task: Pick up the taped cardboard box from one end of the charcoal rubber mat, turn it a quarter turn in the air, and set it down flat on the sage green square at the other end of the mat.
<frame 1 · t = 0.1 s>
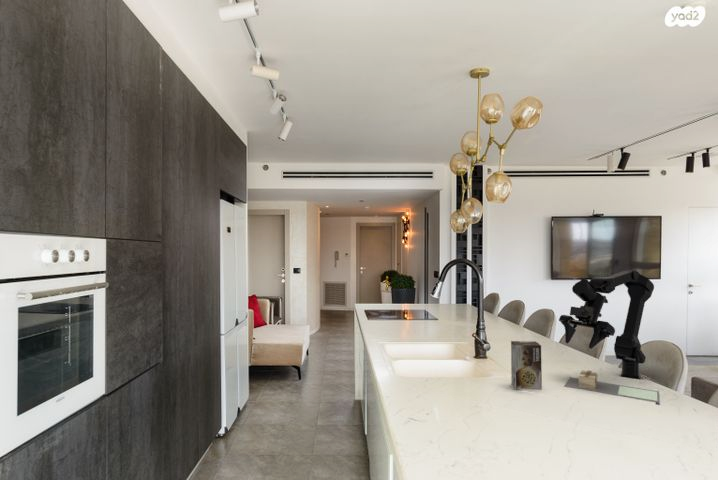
hand: (577, 345, 154), 15 cm above the counter, tool tilted 30°, fingers open, 9 cm apart
mat: (610, 390, 150), on the counter
taped cardboard box: (588, 385, 154), point 1 cm above the counter, touching mat
coffee box: (526, 388, 152), on the counter
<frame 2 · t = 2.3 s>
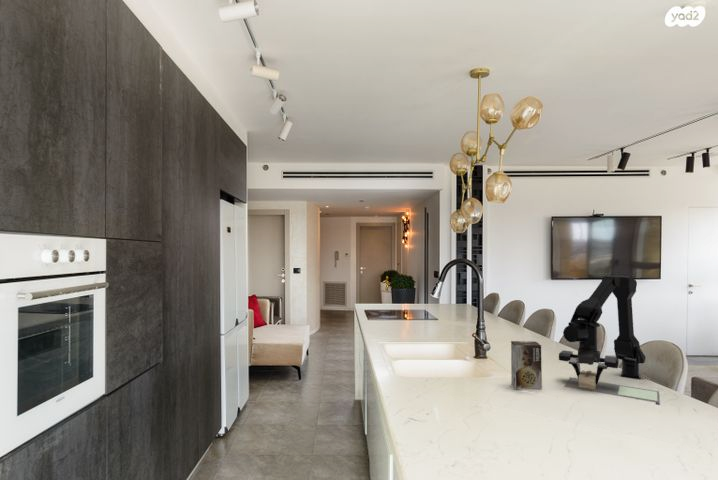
hand: (588, 382, 154), 1 cm above the counter, tool pointing down, fingers closed on taped cardboard box, 5 cm apart
taped cardboard box: (588, 385, 154), point 1 cm above the counter, touching gripper, mat
everything else where it was.
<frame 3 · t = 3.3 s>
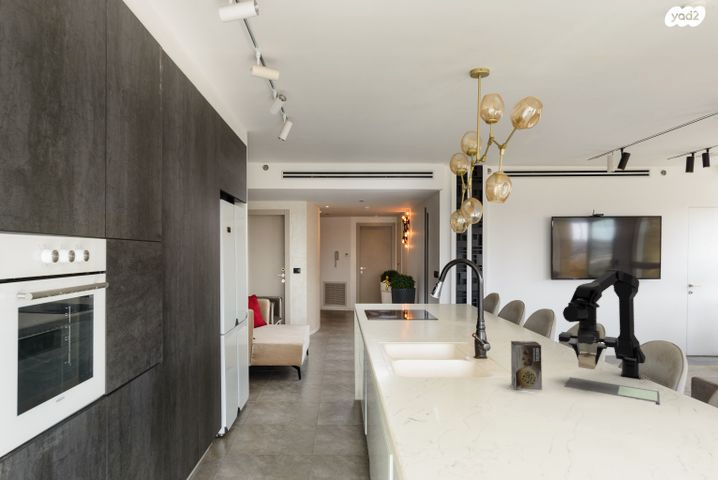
hand: (587, 363, 154), 8 cm above the counter, tool pointing down, fingers closed on taped cardboard box, 5 cm apart
taped cardboard box: (587, 365, 154), point 8 cm above the counter, touching gripper
everything else where it was.
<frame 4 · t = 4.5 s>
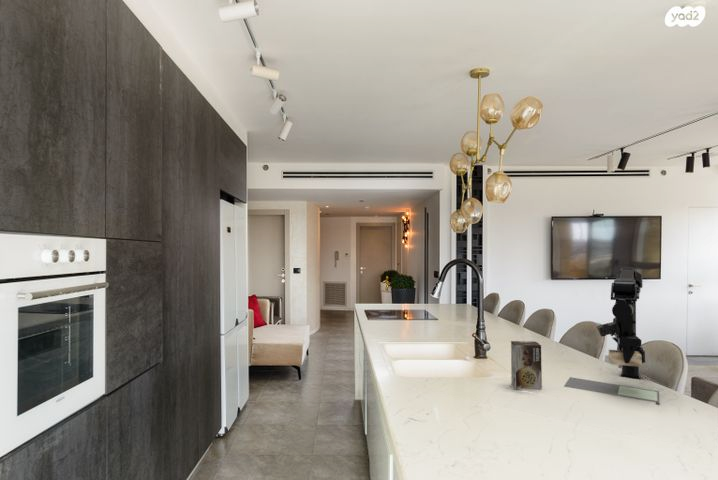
hand: (625, 361, 147), 11 cm above the counter, tool pointing down, fingers closed on taped cardboard box, 5 cm apart
taped cardboard box: (624, 363, 147), point 10 cm above the counter, touching gripper
everything else where it was.
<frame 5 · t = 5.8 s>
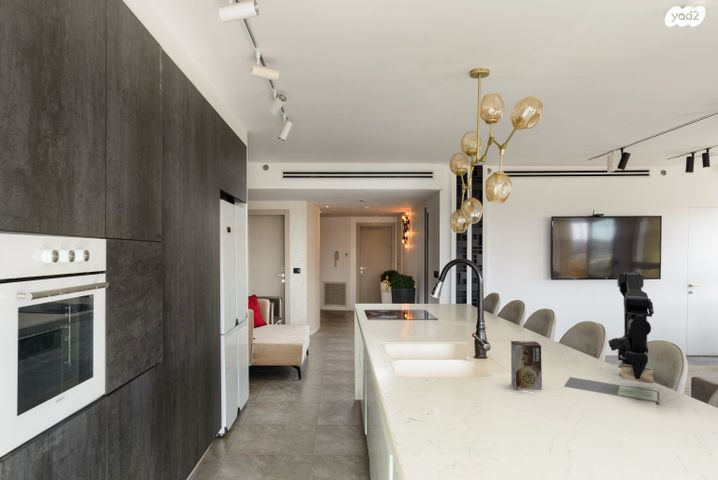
hand: (637, 377, 145), 6 cm above the counter, tool pointing down, fingers closed on taped cardboard box, 5 cm apart
taped cardboard box: (637, 379, 145), point 5 cm above the counter, touching gripper
everything else where it was.
when the fingers open (2 cm above the counter, at t = 6.9 s): taped cardboard box stays where it is, resting on mat.
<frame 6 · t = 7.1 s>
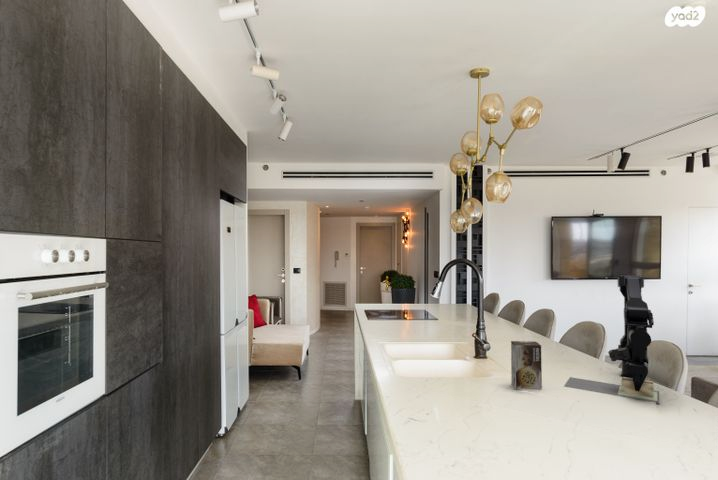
hand: (637, 388, 145), 2 cm above the counter, tool pointing down, fingers open, 7 cm apart
taped cardboard box: (637, 392, 145), point 1 cm above the counter, touching mat
everything else where it was.
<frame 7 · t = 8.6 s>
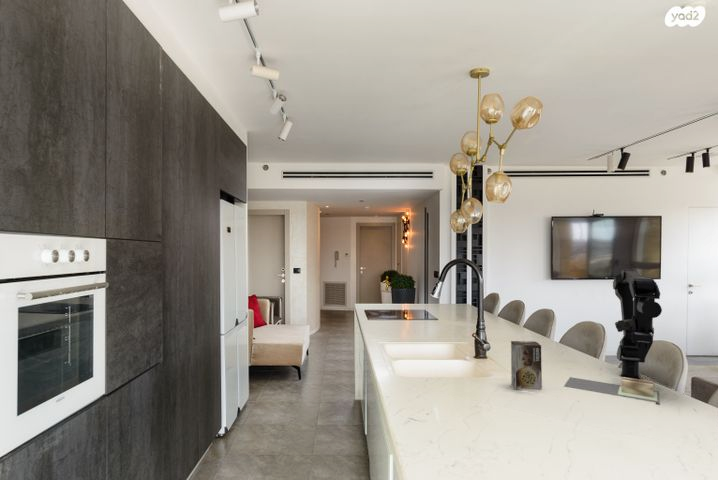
hand: (642, 356, 151), 12 cm above the counter, tool pointing down, fingers open, 9 cm apart
nothing on the counter moved.
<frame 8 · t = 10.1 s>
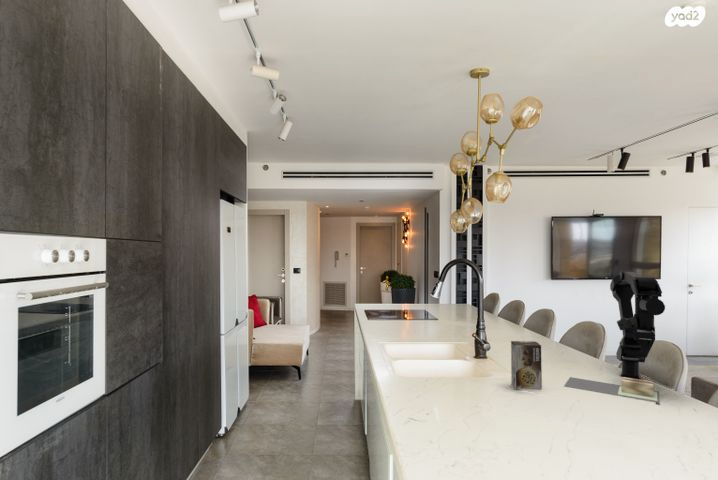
hand: (644, 355, 152), 12 cm above the counter, tool pointing down, fingers open, 9 cm apart
nothing on the counter moved.
at the end: taped cardboard box inside the target area on the mat (0.1 cm from its centre), point 0.7 cm above the mat's base; taped cardboard box tilted 0°; the gripper is holding nothing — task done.
